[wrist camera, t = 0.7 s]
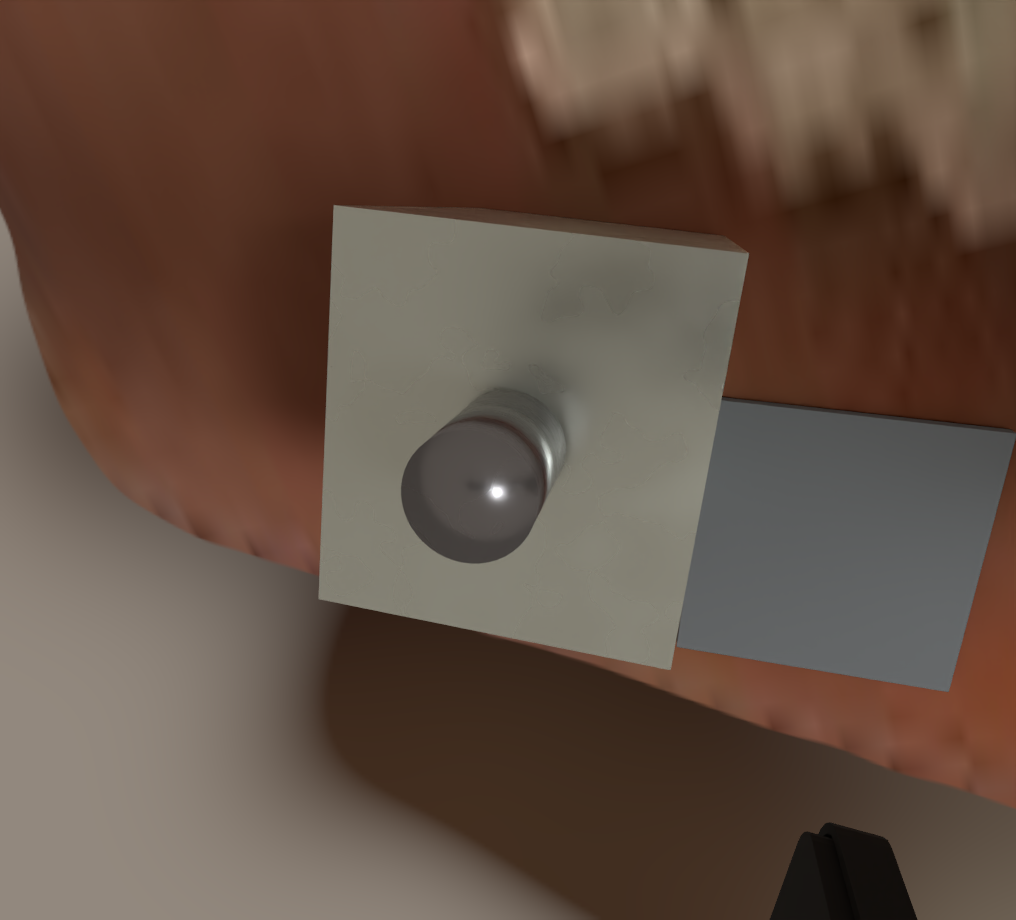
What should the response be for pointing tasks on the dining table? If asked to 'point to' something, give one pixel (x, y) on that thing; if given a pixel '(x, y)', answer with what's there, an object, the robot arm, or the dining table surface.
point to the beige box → (522, 421)
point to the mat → (842, 540)
